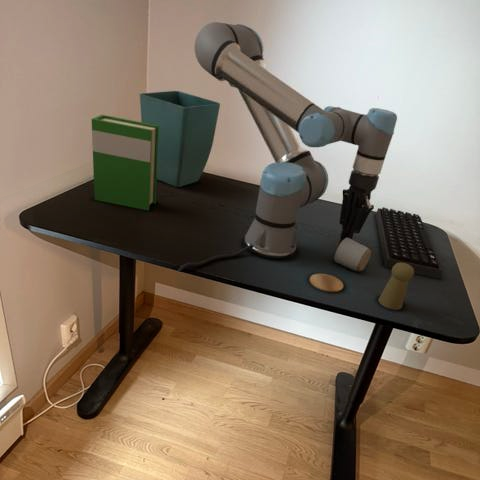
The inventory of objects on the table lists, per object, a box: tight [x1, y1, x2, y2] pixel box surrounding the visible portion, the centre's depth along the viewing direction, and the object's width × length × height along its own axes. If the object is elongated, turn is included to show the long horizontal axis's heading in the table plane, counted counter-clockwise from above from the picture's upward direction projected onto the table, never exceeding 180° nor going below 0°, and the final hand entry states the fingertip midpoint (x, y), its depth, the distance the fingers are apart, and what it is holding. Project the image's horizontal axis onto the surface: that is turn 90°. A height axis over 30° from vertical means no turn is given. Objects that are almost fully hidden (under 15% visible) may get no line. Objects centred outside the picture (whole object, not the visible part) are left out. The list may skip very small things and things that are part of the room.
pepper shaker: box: [378, 263, 415, 311], centre depth 113 cm, size 6×6×11 cm
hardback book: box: [91, 114, 159, 211], centre depth 139 cm, size 18×7×24 cm, turn 81°
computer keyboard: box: [375, 206, 443, 280], centre depth 150 cm, size 45×16×4 cm, turn 169°
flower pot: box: [139, 90, 221, 188], centre depth 161 cm, size 20×20×28 cm
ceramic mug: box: [333, 238, 372, 272], centre depth 129 cm, size 11×8×8 cm
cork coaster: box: [309, 273, 344, 293], centre depth 119 cm, size 9×9×1 cm
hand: (342, 250), depth 135 cm, fingers closed
